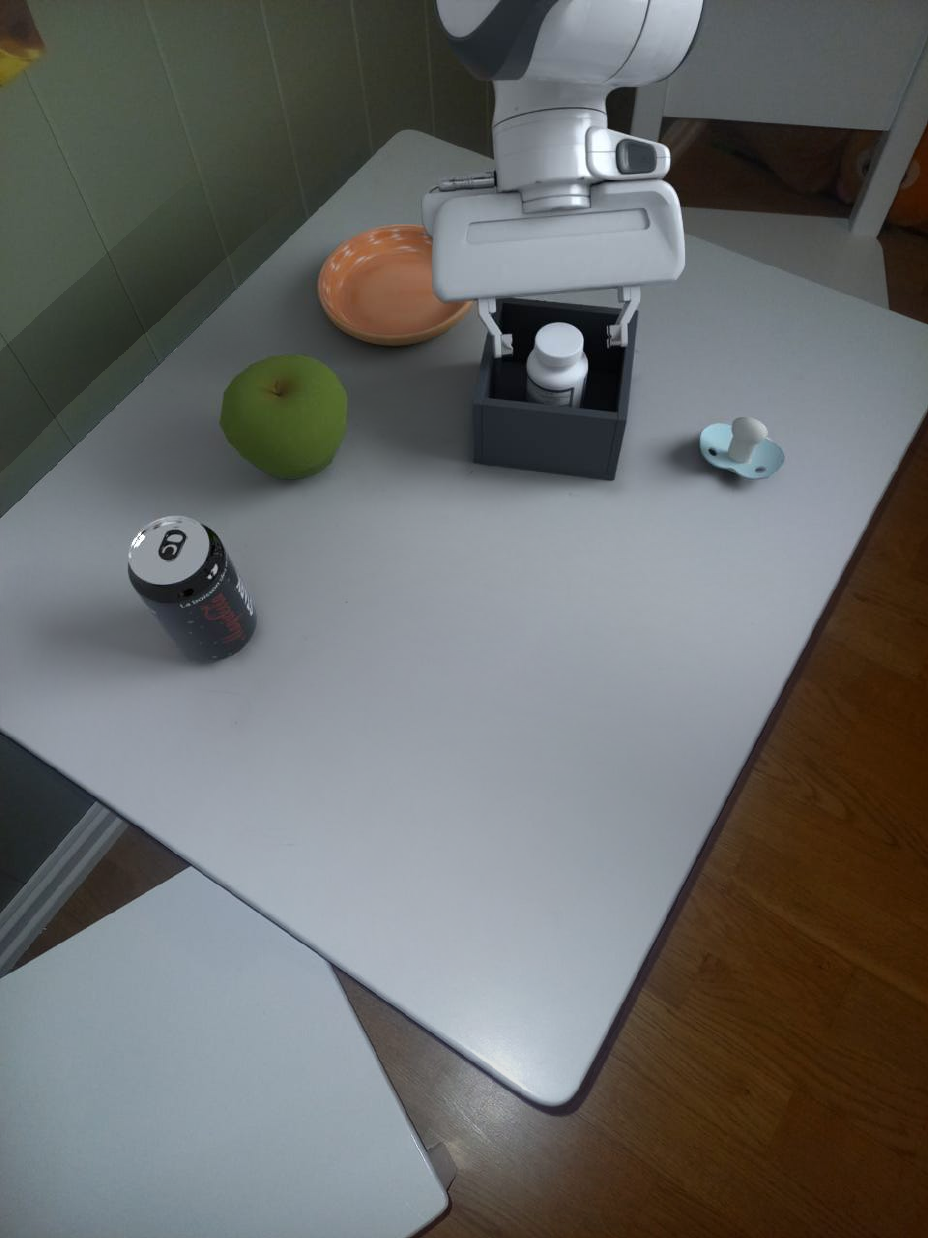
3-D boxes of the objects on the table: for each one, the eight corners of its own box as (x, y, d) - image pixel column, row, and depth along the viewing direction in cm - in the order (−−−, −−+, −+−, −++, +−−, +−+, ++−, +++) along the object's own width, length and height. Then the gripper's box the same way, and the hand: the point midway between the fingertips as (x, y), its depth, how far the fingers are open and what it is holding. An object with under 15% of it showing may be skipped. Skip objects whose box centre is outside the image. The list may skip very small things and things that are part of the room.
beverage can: (271, 599, 70) (232, 516, 59) (244, 674, 67) (198, 599, 56) (193, 586, 71) (141, 501, 60) (163, 659, 68) (102, 583, 57)
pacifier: (711, 420, 78) (688, 465, 75) (729, 369, 72) (704, 415, 70) (789, 448, 76) (767, 496, 73) (813, 398, 70) (791, 447, 68)
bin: (626, 374, 80) (638, 309, 73) (614, 480, 75) (626, 420, 68) (494, 360, 82) (495, 295, 75) (473, 463, 76) (471, 403, 69)
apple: (332, 397, 80) (313, 314, 71) (377, 476, 75) (362, 398, 67) (224, 439, 78) (190, 359, 69) (263, 523, 73) (232, 449, 65)
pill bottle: (551, 381, 79) (558, 306, 71) (593, 411, 77) (605, 337, 69) (512, 413, 77) (514, 339, 70) (554, 444, 76) (561, 372, 68)
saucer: (336, 373, 81) (331, 349, 79) (311, 263, 89) (305, 238, 86) (497, 341, 83) (497, 317, 80) (459, 235, 90) (458, 210, 88)
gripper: (418, 169, 63) (435, 363, 67) (691, 146, 63) (692, 340, 67) (418, 186, 69) (434, 363, 73) (667, 165, 69) (670, 342, 73)
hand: (560, 352), depth 70 cm, fingers open, 8 cm apart
